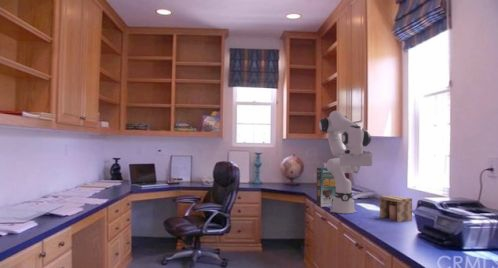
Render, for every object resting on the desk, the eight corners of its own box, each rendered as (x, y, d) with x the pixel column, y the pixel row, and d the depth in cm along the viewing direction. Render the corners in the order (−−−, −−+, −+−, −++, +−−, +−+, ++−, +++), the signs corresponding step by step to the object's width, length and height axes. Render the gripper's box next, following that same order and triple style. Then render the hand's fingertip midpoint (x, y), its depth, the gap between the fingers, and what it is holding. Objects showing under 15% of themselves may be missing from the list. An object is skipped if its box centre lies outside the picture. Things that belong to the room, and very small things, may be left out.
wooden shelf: (398, 221, 241) (399, 199, 242) (379, 217, 256) (379, 196, 256) (411, 220, 247) (412, 198, 247) (392, 215, 261) (392, 195, 261)
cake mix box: (339, 204, 309) (340, 167, 310) (344, 205, 303) (344, 167, 304) (316, 205, 301) (316, 167, 302) (320, 206, 295) (320, 168, 296)
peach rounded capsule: (389, 218, 253) (389, 204, 254) (397, 218, 252) (397, 204, 252) (389, 219, 249) (389, 205, 249) (397, 220, 247) (397, 206, 247)
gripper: (370, 151, 241) (370, 173, 241) (338, 150, 242) (338, 172, 242) (373, 151, 235) (373, 173, 235) (340, 151, 236) (340, 173, 236)
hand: (355, 173), depth 238 cm, fingers closed
